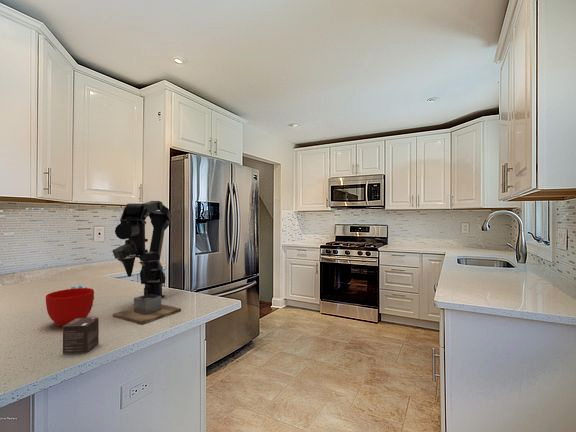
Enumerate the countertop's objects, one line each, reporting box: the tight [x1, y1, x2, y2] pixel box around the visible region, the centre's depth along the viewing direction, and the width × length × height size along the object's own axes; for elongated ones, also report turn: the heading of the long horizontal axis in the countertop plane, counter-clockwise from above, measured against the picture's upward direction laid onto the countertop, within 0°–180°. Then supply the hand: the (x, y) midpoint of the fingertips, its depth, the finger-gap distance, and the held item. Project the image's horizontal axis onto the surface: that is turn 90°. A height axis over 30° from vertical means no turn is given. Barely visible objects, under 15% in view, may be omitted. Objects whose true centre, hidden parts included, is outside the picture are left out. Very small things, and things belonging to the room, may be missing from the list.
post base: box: [112, 298, 182, 326], centre depth 110 cm, size 16×16×6 cm
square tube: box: [133, 294, 162, 315], centre depth 110 cm, size 6×6×5 cm
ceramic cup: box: [45, 287, 95, 328], centre depth 102 cm, size 13×17×10 cm
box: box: [62, 317, 100, 355], centre depth 81 cm, size 6×6×7 cm
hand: (137, 277), depth 116 cm, fingers open, 9 cm apart
